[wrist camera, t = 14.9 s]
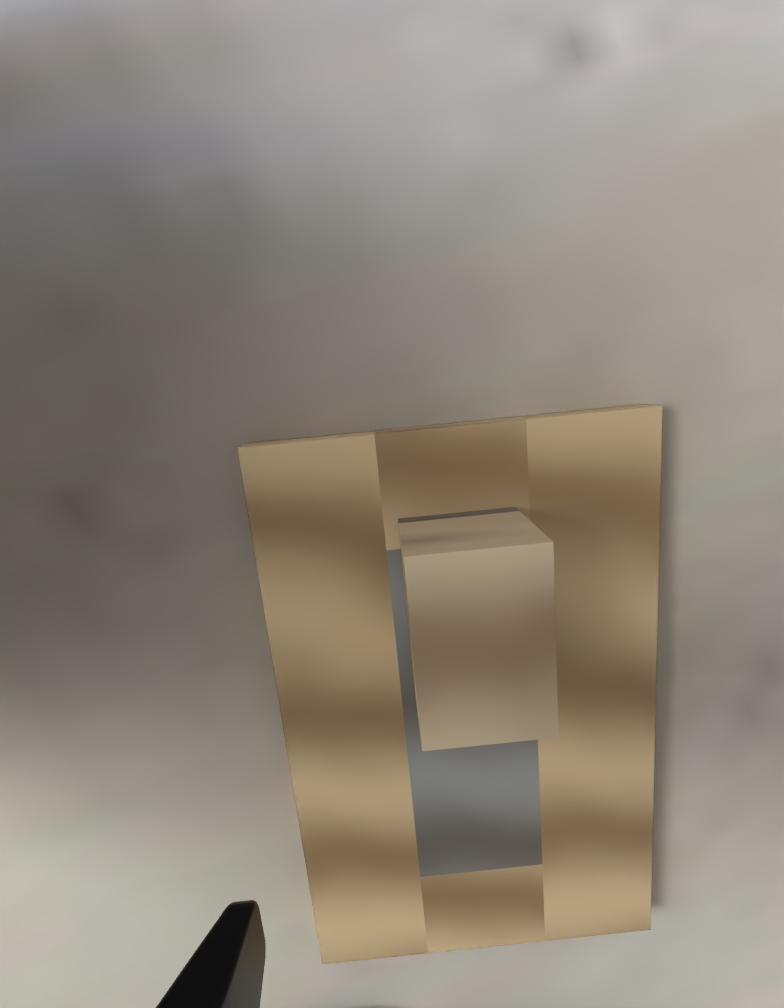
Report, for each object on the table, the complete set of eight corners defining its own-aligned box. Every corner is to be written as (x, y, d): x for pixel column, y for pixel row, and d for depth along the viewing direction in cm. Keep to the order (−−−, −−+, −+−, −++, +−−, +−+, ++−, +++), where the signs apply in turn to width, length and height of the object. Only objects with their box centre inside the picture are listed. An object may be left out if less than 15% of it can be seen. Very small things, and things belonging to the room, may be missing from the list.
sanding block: (521, 665, 19) (558, 737, 15) (413, 676, 19) (422, 751, 15) (514, 506, 18) (553, 542, 14) (397, 518, 18) (403, 556, 14)
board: (636, 902, 23) (650, 929, 22) (325, 934, 23) (322, 964, 22) (644, 404, 18) (662, 405, 17) (246, 443, 18) (237, 447, 17)
